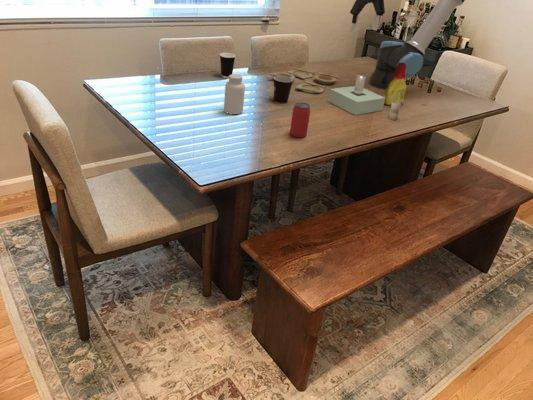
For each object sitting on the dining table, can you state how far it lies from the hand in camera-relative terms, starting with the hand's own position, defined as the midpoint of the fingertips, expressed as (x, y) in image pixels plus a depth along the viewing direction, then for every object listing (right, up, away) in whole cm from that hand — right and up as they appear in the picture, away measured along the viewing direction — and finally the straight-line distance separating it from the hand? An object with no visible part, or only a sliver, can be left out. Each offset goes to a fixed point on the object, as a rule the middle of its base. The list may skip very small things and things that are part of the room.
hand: (364, 30), depth 202 cm
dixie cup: (-66, -16, +19) cm, 70 cm away
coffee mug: (-39, -33, -2) cm, 51 cm away
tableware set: (-25, -17, +27) cm, 40 cm away
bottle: (+16, -32, +10) cm, 37 cm away
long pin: (-4, -35, +2) cm, 35 cm away
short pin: (+11, -42, -7) cm, 44 cm away
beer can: (-33, -54, -34) cm, 72 cm away
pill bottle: (-59, -42, -21) cm, 76 cm away
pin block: (-4, -35, +2) cm, 35 cm away
